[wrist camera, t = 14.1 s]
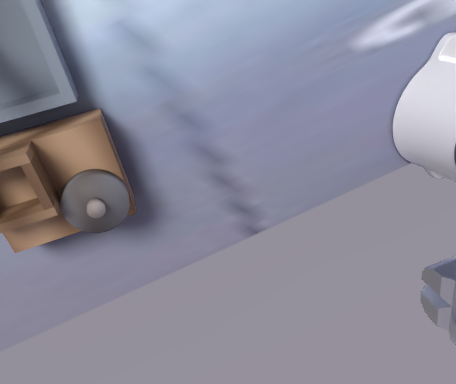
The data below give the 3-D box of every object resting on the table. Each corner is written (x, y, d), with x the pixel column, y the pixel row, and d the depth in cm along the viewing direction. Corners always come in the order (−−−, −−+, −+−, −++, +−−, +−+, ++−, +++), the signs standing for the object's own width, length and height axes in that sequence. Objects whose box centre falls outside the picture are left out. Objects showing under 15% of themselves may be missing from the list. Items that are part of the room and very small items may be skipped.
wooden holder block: (100, 108, 38) (101, 131, 32) (133, 194, 43) (139, 228, 37) (-29, 144, 36) (-54, 176, 31) (21, 230, 42) (9, 272, 36)
